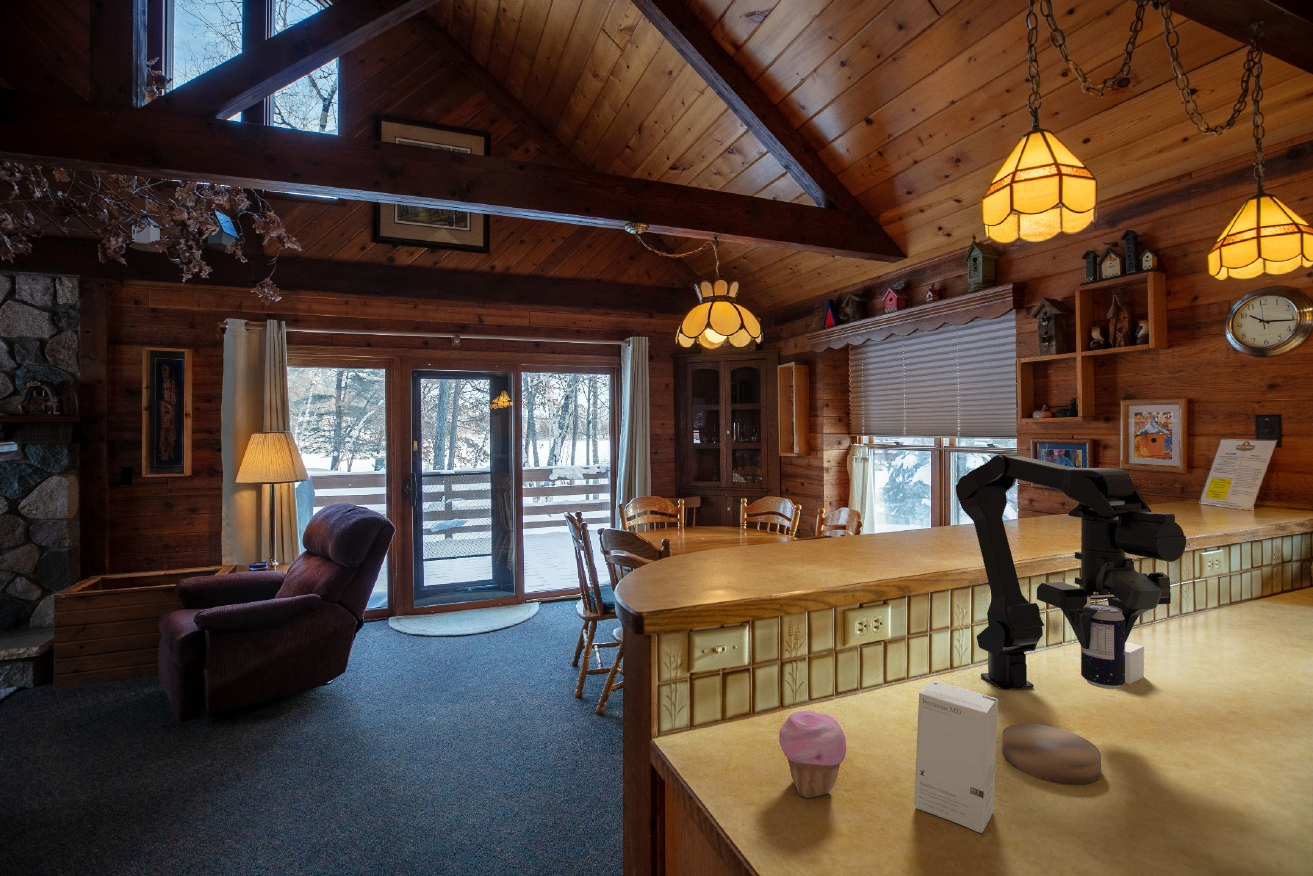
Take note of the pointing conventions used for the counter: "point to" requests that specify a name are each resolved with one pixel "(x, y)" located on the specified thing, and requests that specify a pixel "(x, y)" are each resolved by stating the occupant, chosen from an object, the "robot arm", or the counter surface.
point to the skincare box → (956, 754)
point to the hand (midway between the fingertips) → (1102, 647)
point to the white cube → (1133, 662)
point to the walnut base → (1051, 754)
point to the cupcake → (813, 751)
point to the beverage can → (1105, 649)
